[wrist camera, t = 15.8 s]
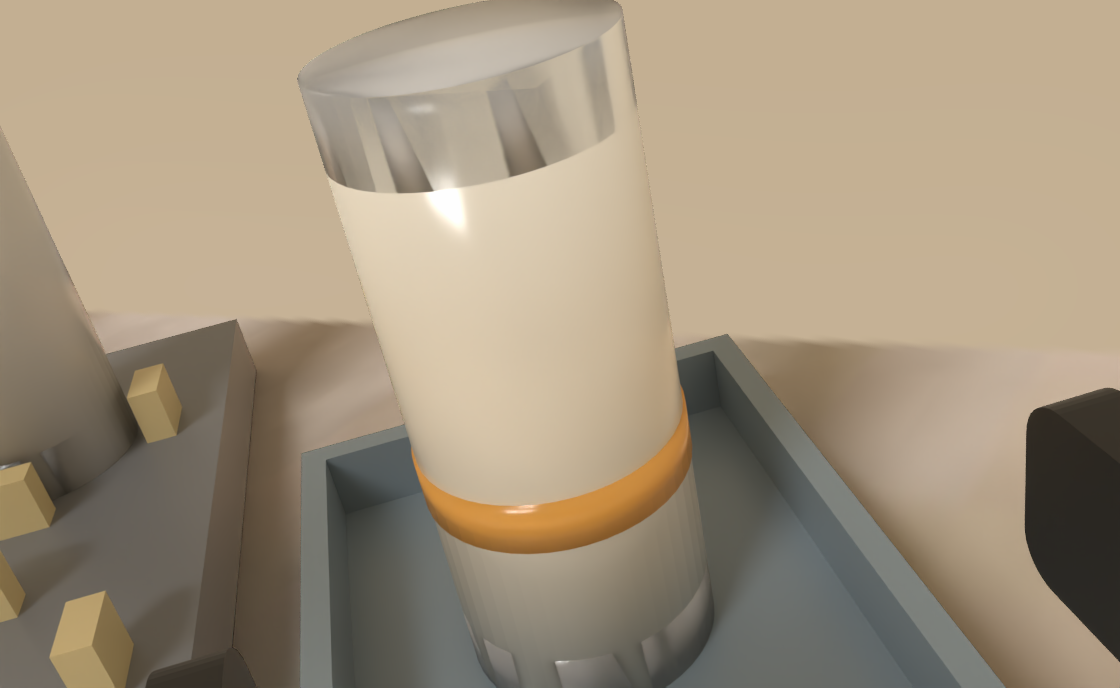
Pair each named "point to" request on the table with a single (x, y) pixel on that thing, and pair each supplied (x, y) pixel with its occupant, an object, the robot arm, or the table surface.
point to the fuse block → (135, 529)
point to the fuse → (50, 356)
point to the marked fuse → (525, 329)
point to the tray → (731, 547)
